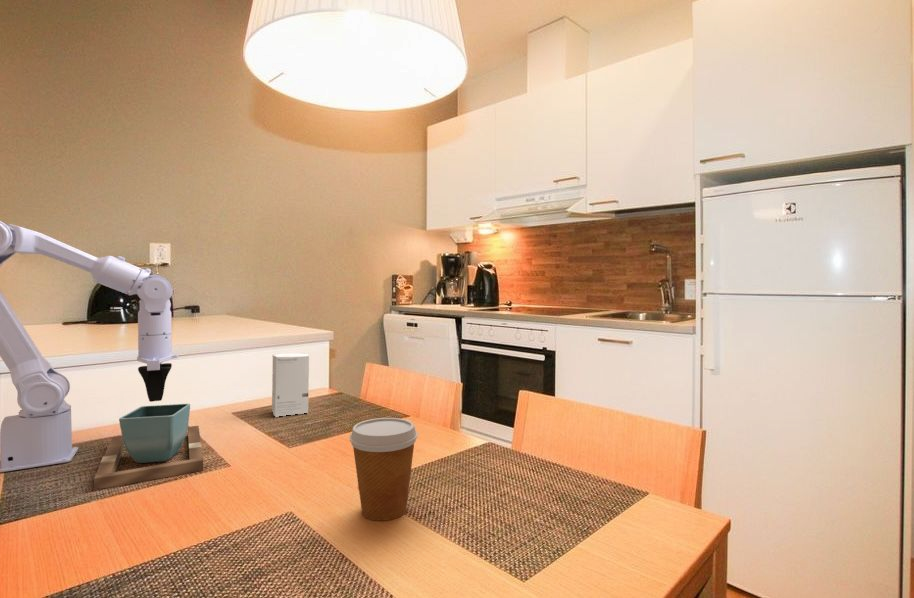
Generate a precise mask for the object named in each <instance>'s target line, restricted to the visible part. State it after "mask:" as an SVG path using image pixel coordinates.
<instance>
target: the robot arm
mask: <svg viewBox="0 0 914 598" xmlns="http://www.w3.org/2000/svg"><path fill="white" fill-rule="evenodd" d="M15 254H19V255H20V254H21V255H42V256H46V257H48V258H51V259H54V260H56V261H60V262H62V263H64V264H67V265H70V266H72V267H74V268H78V269H80V270H84V271H86V272H89V273H90V274H91V277H92V280H93V281H94V283H96V284H99V285H102V286H105V287H106V288H107V287H108V288H110V289H112V290H115V291H117V292H121V293H123V294H125V295H128V296H132V295H137V296H138V297H139V310H138V311H137V337H138V338H137V341H138V342H137V348H138V349H137V351H138V354H137V355H138V356H137V357H136V359H137V362H140V363H144V364H146V365H142V366H139V367H138V368H137V371H138V373H139V375H140V376H141V378H142V380H143V382H144V384H145V390H146V394H147V397H148V401H149V402H150V403H152V402H159V401H161V402H162V400H163V398H164V397H163V396H164V391H165V385H166V380H167V378H168V375H169V373H170V372H171V369H172V366H173V364H172V363H169V362H167V361H170V360H173V359H179V354H178V353H173V352H172V350H173V349H172V347H173V346H172V345H173V344H172V337H173V336H172V333H173V332H172V311H171V307H172V303H171V298H172V296H173V292H174V290H173V287H172V283H170V281H169V280H168V279H167V278H166V277H164V276H162V275H159V274H151V272H152V269H150V268H147V267H146V268H141V267H138V266H136V265H135V264H132V263H129V262H128V261H126V257H123V256H120V255H118V256H117V257H115V256H112V255H105V256H102V257H97V256H94V255H92V254H90V253H87V252H85V251H83V250H82V249H81V250H80V249H78V248H76V247H74V246H71V245H69V244H67V243H64V242H62V241H59V240H57V239H55V238H53V237H51V236H49V235H46V234H44V233H41V232H39V231H35V230H32V229H29V228H25V227H22V226H19V225H15V224H12V223H9V224H6V223H5V222H3V221H1V220H0V268H1V267H2V266H3V264H4V263H5V262H6V261H7V260H8V259H10V258H11V257H12V256H14V255H15ZM0 358H1V360H2V361H3V362H4V364H5V366H6V367H7V369H8V370H9V373H10V377H11V382H12V384H13V385H14V387H15V389H16V392H17V400H16V401H17V404H18V406H19V408H20V410H19V411H18V414H15V415H9V416H5V417H4V418H3V420H2V421H1V424H0V473H3V472H4V473H5V472H11V471H17V470H24V469H31V468H36V467H37V468H38V467H45V466H50V465H56V464H63V463H69V462H71V461H72V460H73V458H74V457H75V454H76V453H77V452H78V451H79V447H78V446H74V447H73V436H72V435H73V434H72V433H73V432H72V405H71V404H69V403H68V402H67V401H66V400H65V398H66V397H67V395H68V394H69V392H70V388H71V385H70V383H71V382H70V381H69V379H68V377H66V376H65V375H63V374H62V373H60V372H58V371H57V370H55V369H54V367H53V366H52V364H51V363H50V362H49V361H48V360H47V359H46V358H45V357H44V356H43V355H42V353H41V352H40V350H39V348H38V347H37V345H36V344H35V342H34V340H33V339H32V337H31V336H30V334H29V333H28V331H27V329H26V328H25V326H24V325H23V323H22V322H21V320H20V319H19V317H18V315H17V314H16V312H15V311H14V309H13V308H12V305H10V303H9V301H8V300H7V298H6V296H5V295H4V293H3V292H2V290H1V289H0ZM165 362H167V363H165Z"/></svg>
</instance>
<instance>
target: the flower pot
mask: <svg viewBox="0 0 914 598" xmlns="http://www.w3.org/2000/svg"><path fill="white" fill-rule="evenodd" d="M190 410H191V404H190V403H174V404H157V405H143V406H140V407H138V408H136V409H134V410H132V411H130V412H129V413H127V414H125V415H123V416H121V417H119V419H118V421H119V428H120V431H121V436H122V438H123V442H124V445H125V446H124V449H125V450H126V451H127V453H128V454H129V456H130V457H131V458H132V459H133V460H134V462H136V463H137V464H143V463H158V462H167V461H169V460H170V459H171V458H172V457H173V456H174V455H176V454H177V453H179V451H180V449H181V447H182V446H183V443H184V441H185V439H186V437H187V434H188V427H189V423H190V422H189V421H190V412H191V411H190Z"/></svg>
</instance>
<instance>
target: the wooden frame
mask: <svg viewBox="0 0 914 598" xmlns="http://www.w3.org/2000/svg"><path fill="white" fill-rule="evenodd" d="M200 433H201V432H200V427H199V425H192V426H188V429H187V442H188V459H186V460H185V459H184V460H180V461H174V462H168V463H167V462H166V463H162V464H161V463H160V464H157V465H156V464H155V465H149V466H145V467H138V468H132V469H125V470H120V471H117V468H118V465H119V462H120V460H121V458H122V455H121V454H123V452H124V449H125V446H124V442H123V438H122V435H118V436H112V438H111V440H110V442H109V444H108V446H107V448H106V451H105V453H104V456H102V458H101V460H100V463H99V465H98V466H99V467H98V469H97V470H96V473H95V475H94V477H93V491H98V490H102V489H109V488H114V487H119V486H124V485H130V484H135V483H143V482H147V481H151V480H153V481H154V480H159V479H163V478H168V477H175V476H181V475H185V474H192V473H196V472H202V471H204V457H203V449H202V442H201V441H202V440H201V435H200ZM123 448H124V449H123ZM122 451H123V452H122Z"/></svg>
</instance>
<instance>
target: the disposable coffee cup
mask: <svg viewBox="0 0 914 598" xmlns="http://www.w3.org/2000/svg"><path fill="white" fill-rule="evenodd" d="M418 434H419V433H418V431H417V430H416V428H415V423H414V422H412V421H410V420H407V419H404V418H398V417H377V418H371V419H367V420H362V421H360V422H357V423H356V424H355V425H353V427H352V430H351V434H350V435H349V438H348V439H349V442H350V443H351V445H352V448H353V456H354V463H355V471H356V477H357V485H358V486H357V487H358V493H359V500H360V507H361V514H362V516H363V517H364V518H367V519H369V520H372V521H381V522H384V521H390V520H395V519H397V518H399V517H401V516H402V515H404V514H405V513H406V512H407V507H408V506H407V505H408V498H409V491H410V482H411V475H412V467H413V464H412V463H413V457H414V449H415V448H414V447H415V446H414V445H415V443H416V441H417V439H418V436H419V435H418Z"/></svg>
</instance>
